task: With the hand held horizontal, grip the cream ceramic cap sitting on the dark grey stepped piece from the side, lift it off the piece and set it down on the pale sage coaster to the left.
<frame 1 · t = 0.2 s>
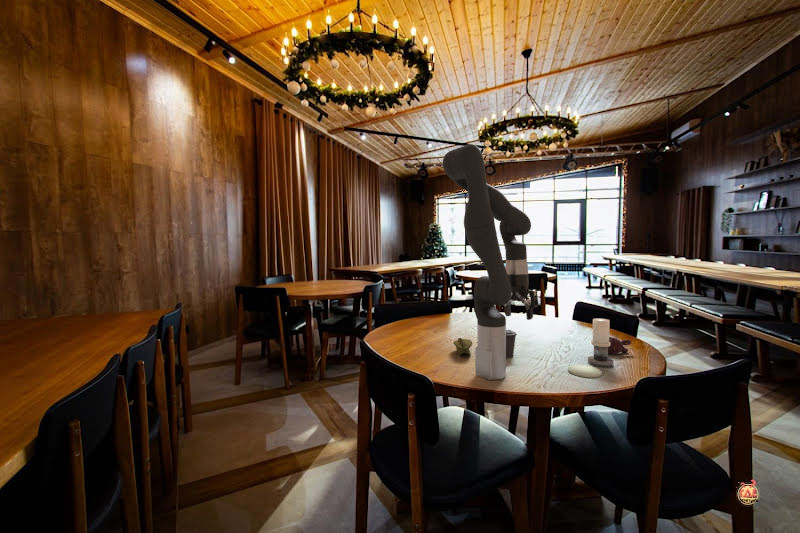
hand: (518, 317, 122), 18 cm above the table, tool pointing down, fingers open, 8 cm apart
dark brown lumpy piece: (611, 354, 136), on the table
cap: (600, 344, 125), point 7 cm above the table, touching dark grey stepped piece
dark grey stepped piece: (600, 363, 125), on the table
coaster: (584, 372, 117), on the table
coffee cup: (506, 356, 135), on the table
fruit: (462, 354, 138), on the table
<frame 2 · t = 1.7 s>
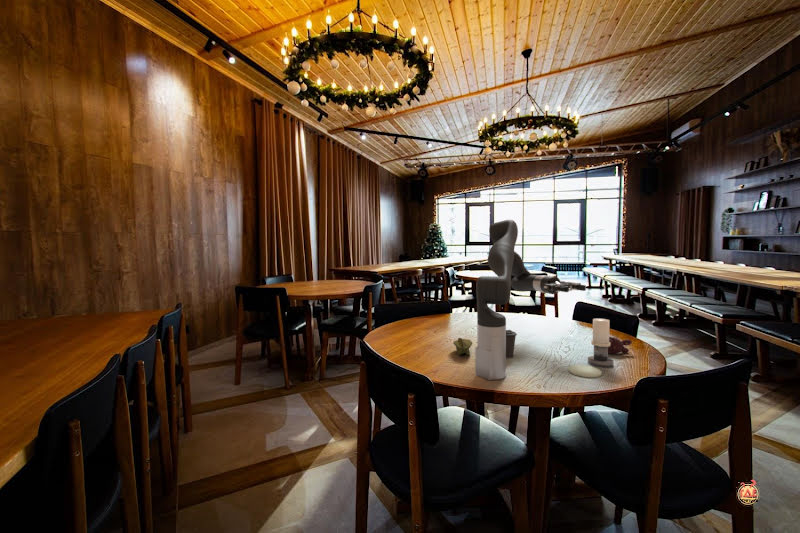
hand: (576, 288, 134), 26 cm above the table, tool horizontal, fingers open, 8 cm apart
nothing on the table moved.
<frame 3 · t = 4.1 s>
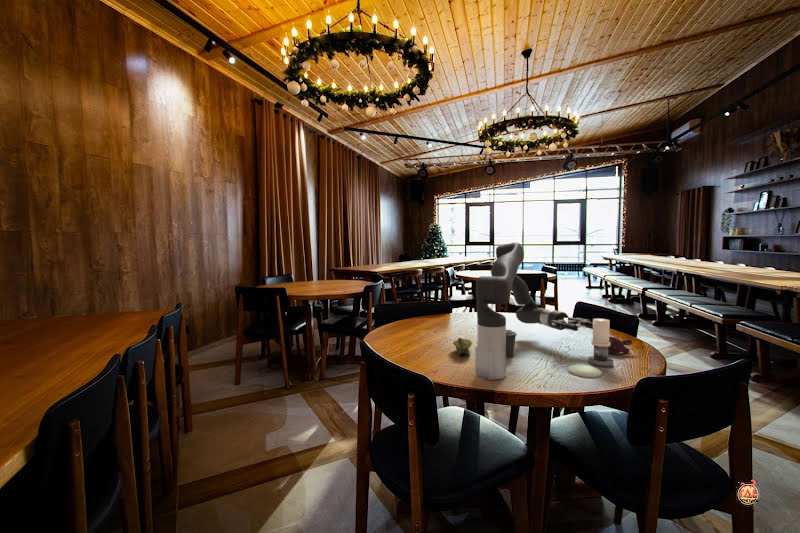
hand: (586, 327, 130), 12 cm above the table, tool horizontal, fingers open, 8 cm apart
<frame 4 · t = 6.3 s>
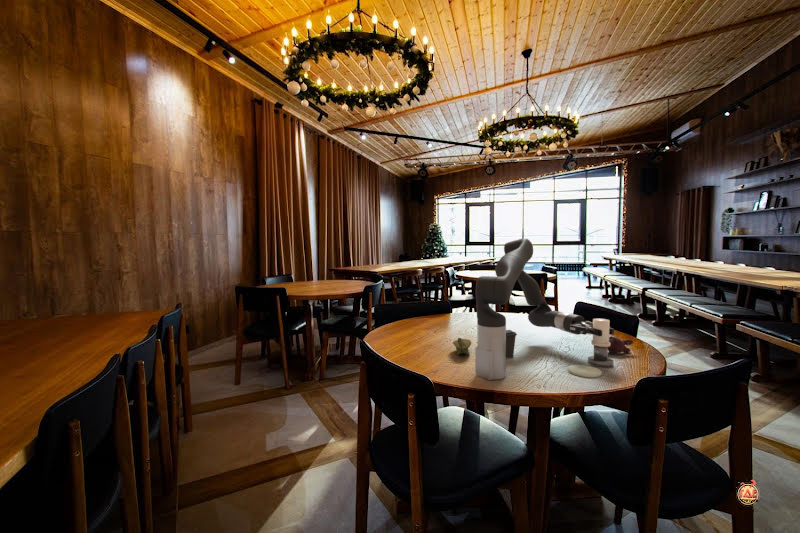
hand: (607, 332, 122), 12 cm above the table, tool horizontal, fingers closed on cap, 5 cm apart
cap: (600, 344, 125), point 7 cm above the table, touching gripper, dark grey stepped piece
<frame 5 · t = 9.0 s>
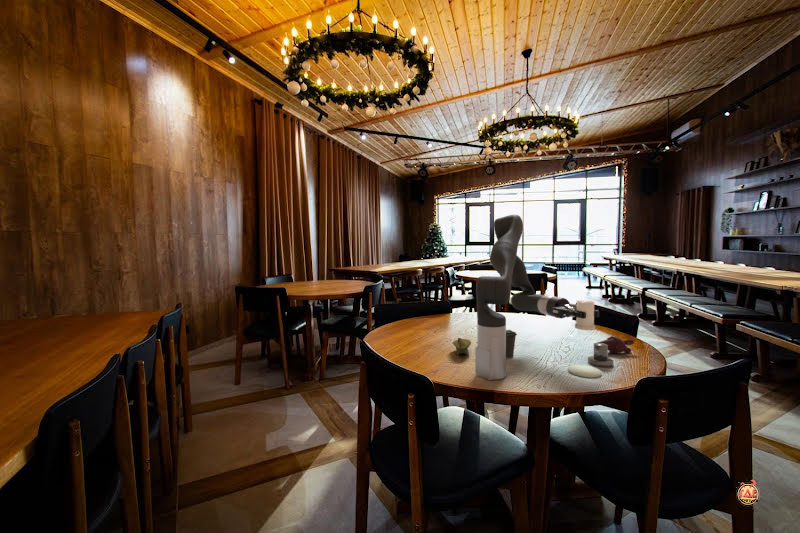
hand: (591, 314, 113), 20 cm above the table, tool horizontal, fingers closed on cap, 5 cm apart
cap: (584, 328, 116), point 15 cm above the table, touching gripper
when the fingers open (7 cm above the table, at t = 11.8 s): cap drops 1 cm, resting on coaster.
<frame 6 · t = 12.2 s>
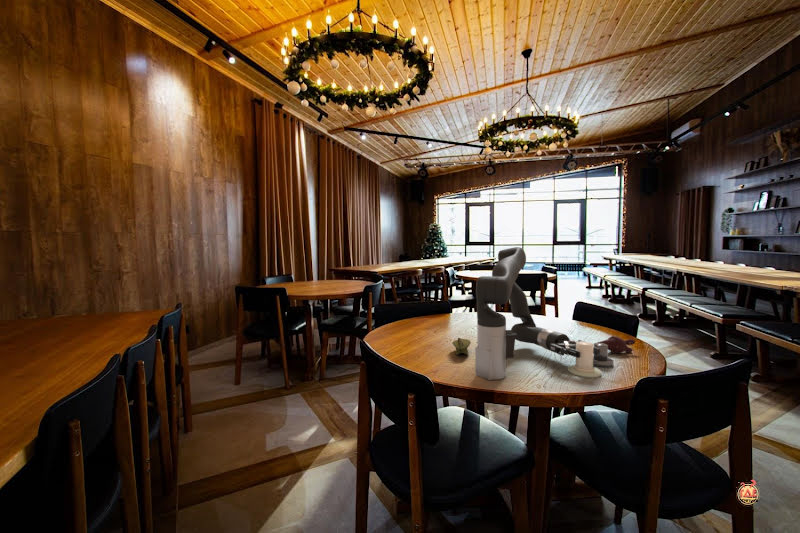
hand: (589, 353, 115), 7 cm above the table, tool horizontal, fingers open, 8 cm apart
cap: (584, 369, 117), point 1 cm above the table, touching coaster
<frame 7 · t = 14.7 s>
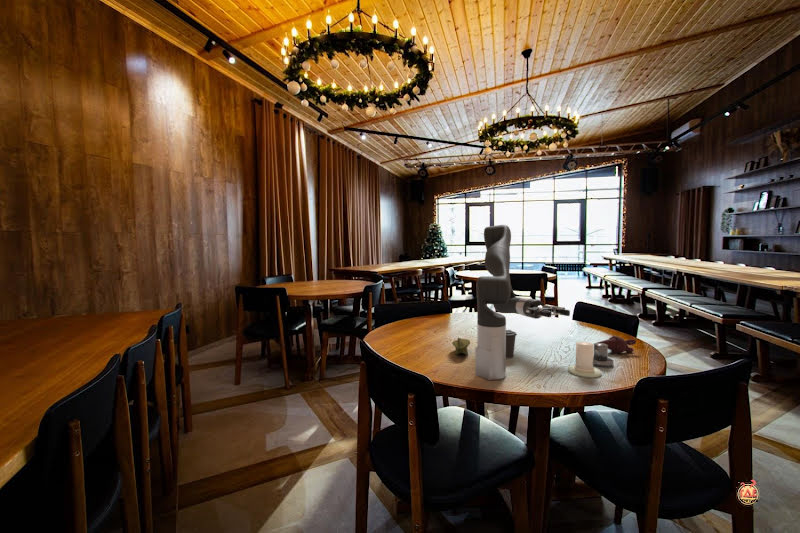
hand: (560, 313, 126), 18 cm above the table, tool horizontal, fingers open, 8 cm apart
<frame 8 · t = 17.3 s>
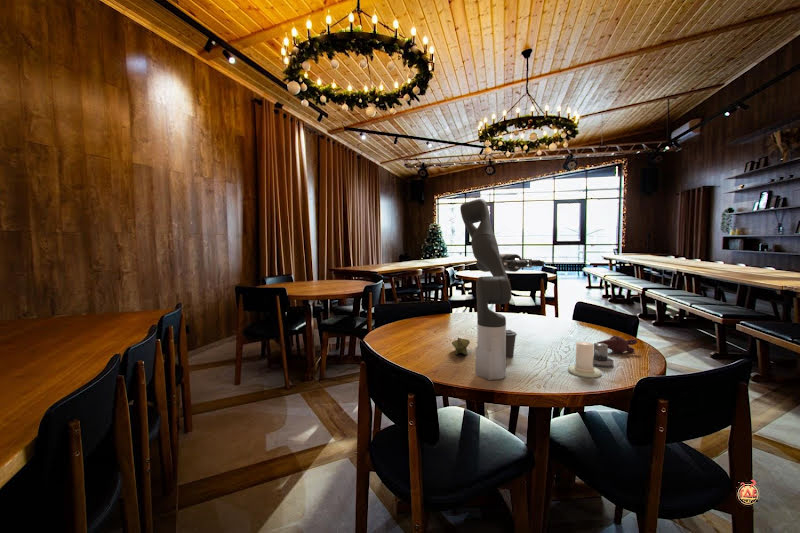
hand: (534, 264, 134), 36 cm above the table, tool horizontal, fingers open, 8 cm apart
at the end: cap 0.1 cm from the coaster (horizontally); cap point 0.8 cm above the table; cap tilted 0° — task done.
